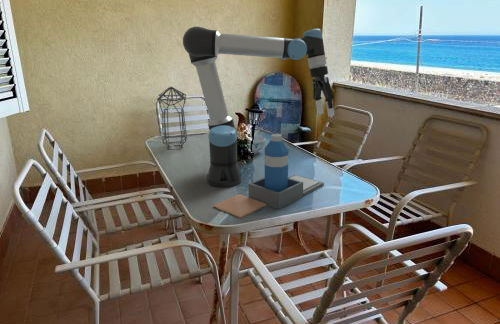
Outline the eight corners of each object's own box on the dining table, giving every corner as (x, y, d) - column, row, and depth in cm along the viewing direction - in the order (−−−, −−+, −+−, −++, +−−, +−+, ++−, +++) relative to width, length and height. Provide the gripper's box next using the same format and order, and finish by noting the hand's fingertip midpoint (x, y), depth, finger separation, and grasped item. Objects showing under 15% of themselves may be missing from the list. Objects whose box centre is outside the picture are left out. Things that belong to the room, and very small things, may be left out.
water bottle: (260, 200, 138) (260, 136, 130) (268, 191, 146) (268, 131, 139) (283, 203, 135) (285, 139, 127) (290, 194, 143) (292, 133, 135)
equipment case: (248, 198, 140) (248, 183, 138) (294, 177, 162) (295, 164, 160) (279, 209, 131) (279, 193, 129) (323, 185, 152) (324, 171, 150)
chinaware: (233, 151, 200) (232, 138, 198) (254, 147, 209) (254, 134, 206) (249, 158, 189) (249, 143, 186) (271, 152, 198) (271, 139, 195)
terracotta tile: (213, 206, 133) (213, 205, 133) (239, 195, 143) (239, 194, 143) (240, 218, 124) (240, 216, 124) (266, 205, 134) (266, 203, 134)
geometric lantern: (189, 143, 218) (186, 84, 207) (188, 151, 204) (185, 88, 192) (162, 144, 216) (157, 85, 205) (160, 152, 202) (154, 89, 190)
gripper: (337, 62, 144) (344, 114, 149) (317, 67, 168) (324, 111, 173) (319, 66, 144) (327, 118, 148) (301, 70, 168) (309, 115, 172)
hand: (325, 115), depth 161 cm, fingers open, 13 cm apart
